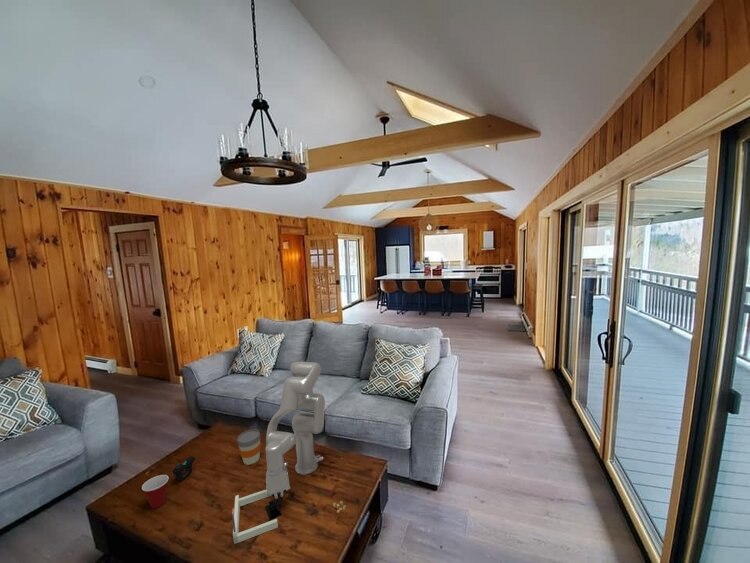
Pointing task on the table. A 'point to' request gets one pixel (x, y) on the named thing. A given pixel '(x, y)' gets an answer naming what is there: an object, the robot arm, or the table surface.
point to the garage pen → (255, 530)
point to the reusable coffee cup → (249, 446)
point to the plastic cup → (156, 490)
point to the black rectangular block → (273, 510)
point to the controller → (183, 468)
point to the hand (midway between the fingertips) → (279, 503)
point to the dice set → (338, 506)
